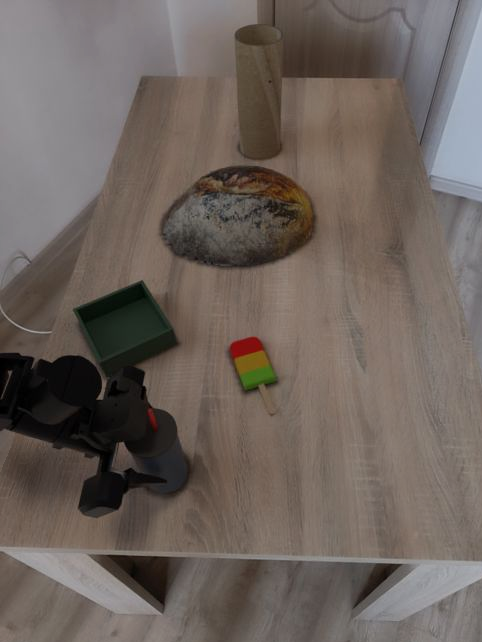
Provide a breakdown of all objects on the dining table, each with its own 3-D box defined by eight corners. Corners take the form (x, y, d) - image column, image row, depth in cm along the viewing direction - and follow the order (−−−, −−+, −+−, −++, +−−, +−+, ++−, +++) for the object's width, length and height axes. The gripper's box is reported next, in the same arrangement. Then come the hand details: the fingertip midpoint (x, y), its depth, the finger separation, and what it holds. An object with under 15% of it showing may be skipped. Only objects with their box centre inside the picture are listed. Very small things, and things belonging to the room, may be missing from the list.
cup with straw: (154, 503, 68) (126, 449, 53) (136, 465, 71) (104, 404, 57) (197, 480, 70) (181, 421, 55) (177, 443, 73) (157, 379, 59)
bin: (106, 377, 80) (99, 363, 76) (80, 324, 86) (72, 308, 83) (177, 344, 84) (173, 328, 80) (147, 295, 90) (142, 279, 87)
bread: (324, 260, 95) (329, 221, 87) (161, 272, 94) (151, 233, 85) (304, 176, 111) (307, 136, 103) (164, 186, 109) (155, 146, 101)
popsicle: (257, 339, 84) (257, 333, 83) (288, 411, 76) (289, 405, 75) (228, 348, 83) (227, 342, 82) (256, 421, 75) (256, 416, 74)
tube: (287, 144, 118) (292, 32, 98) (264, 163, 114) (264, 50, 93) (255, 131, 122) (253, 20, 101) (231, 149, 117) (224, 37, 96)
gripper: (71, 481, 46) (199, 514, 55) (109, 327, 56) (211, 375, 65) (25, 504, 53) (146, 530, 61) (67, 363, 63) (165, 402, 72)
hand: (169, 455), depth 65 cm, fingers open, 7 cm apart
